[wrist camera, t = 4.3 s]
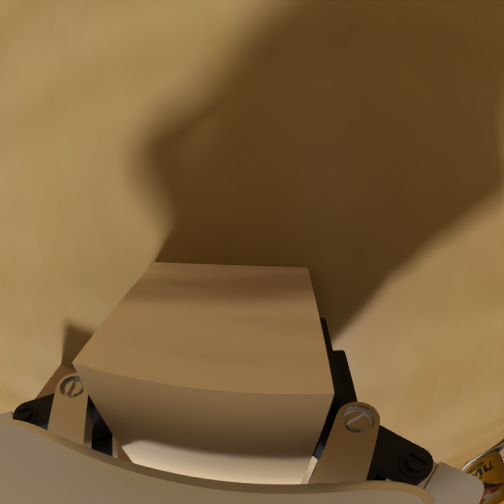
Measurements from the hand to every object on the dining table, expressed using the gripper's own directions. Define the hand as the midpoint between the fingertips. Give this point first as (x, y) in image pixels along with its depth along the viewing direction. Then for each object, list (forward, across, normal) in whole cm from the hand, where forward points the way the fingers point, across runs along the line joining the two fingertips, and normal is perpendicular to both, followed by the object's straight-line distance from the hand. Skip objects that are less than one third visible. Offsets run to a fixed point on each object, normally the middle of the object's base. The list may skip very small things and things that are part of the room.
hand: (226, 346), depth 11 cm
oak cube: (+1, 0, 0) cm, 1 cm away
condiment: (+1, -33, +26) cm, 42 cm away
